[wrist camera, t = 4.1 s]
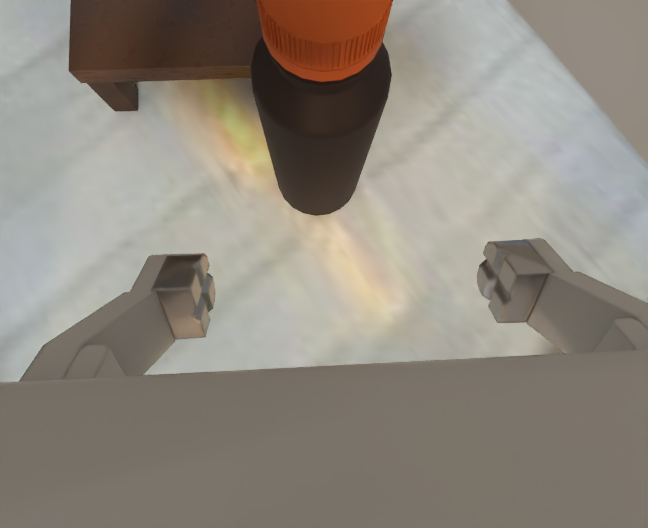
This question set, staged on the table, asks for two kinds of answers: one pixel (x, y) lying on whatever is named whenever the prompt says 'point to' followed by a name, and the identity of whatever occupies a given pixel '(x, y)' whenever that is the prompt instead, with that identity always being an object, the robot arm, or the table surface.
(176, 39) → the stand
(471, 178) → the table surface
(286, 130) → the vinegar
